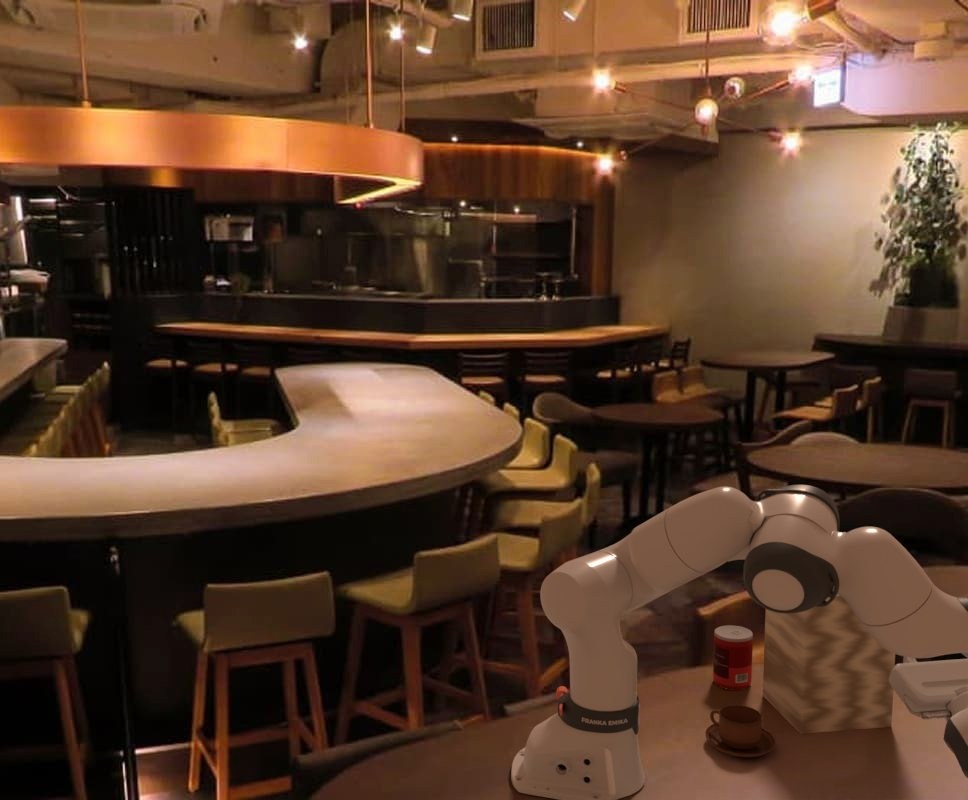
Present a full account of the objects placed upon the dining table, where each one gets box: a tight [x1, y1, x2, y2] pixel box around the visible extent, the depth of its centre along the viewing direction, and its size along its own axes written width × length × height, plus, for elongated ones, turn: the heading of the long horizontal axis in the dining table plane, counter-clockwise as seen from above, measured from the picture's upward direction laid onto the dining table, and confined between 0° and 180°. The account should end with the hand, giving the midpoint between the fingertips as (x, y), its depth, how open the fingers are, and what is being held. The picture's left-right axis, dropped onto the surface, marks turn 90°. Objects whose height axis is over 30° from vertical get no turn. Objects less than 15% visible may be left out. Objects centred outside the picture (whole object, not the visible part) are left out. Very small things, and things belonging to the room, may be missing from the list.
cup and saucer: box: [705, 704, 776, 759], centre depth 165 cm, size 12×12×6 cm
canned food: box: [712, 624, 754, 691], centre depth 190 cm, size 8×8×11 cm
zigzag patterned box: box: [762, 594, 896, 735], centre depth 177 cm, size 18×16×27 cm
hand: (930, 642), depth 153 cm, fingers open, 8 cm apart
